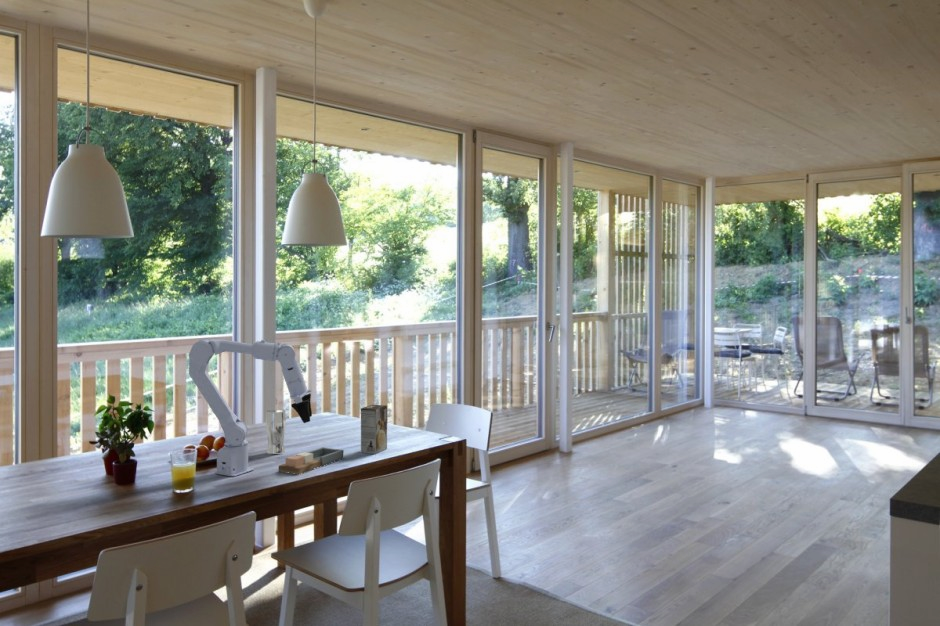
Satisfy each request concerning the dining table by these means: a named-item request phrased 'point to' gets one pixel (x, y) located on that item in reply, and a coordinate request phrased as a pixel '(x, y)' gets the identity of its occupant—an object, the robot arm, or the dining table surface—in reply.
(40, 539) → the dining table surface
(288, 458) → the tile terracotta
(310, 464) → the board
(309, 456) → the tile cream
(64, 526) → the dining table surface
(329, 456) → the tray
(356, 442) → the dining table surface
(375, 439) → the coffee box
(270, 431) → the beer glass
